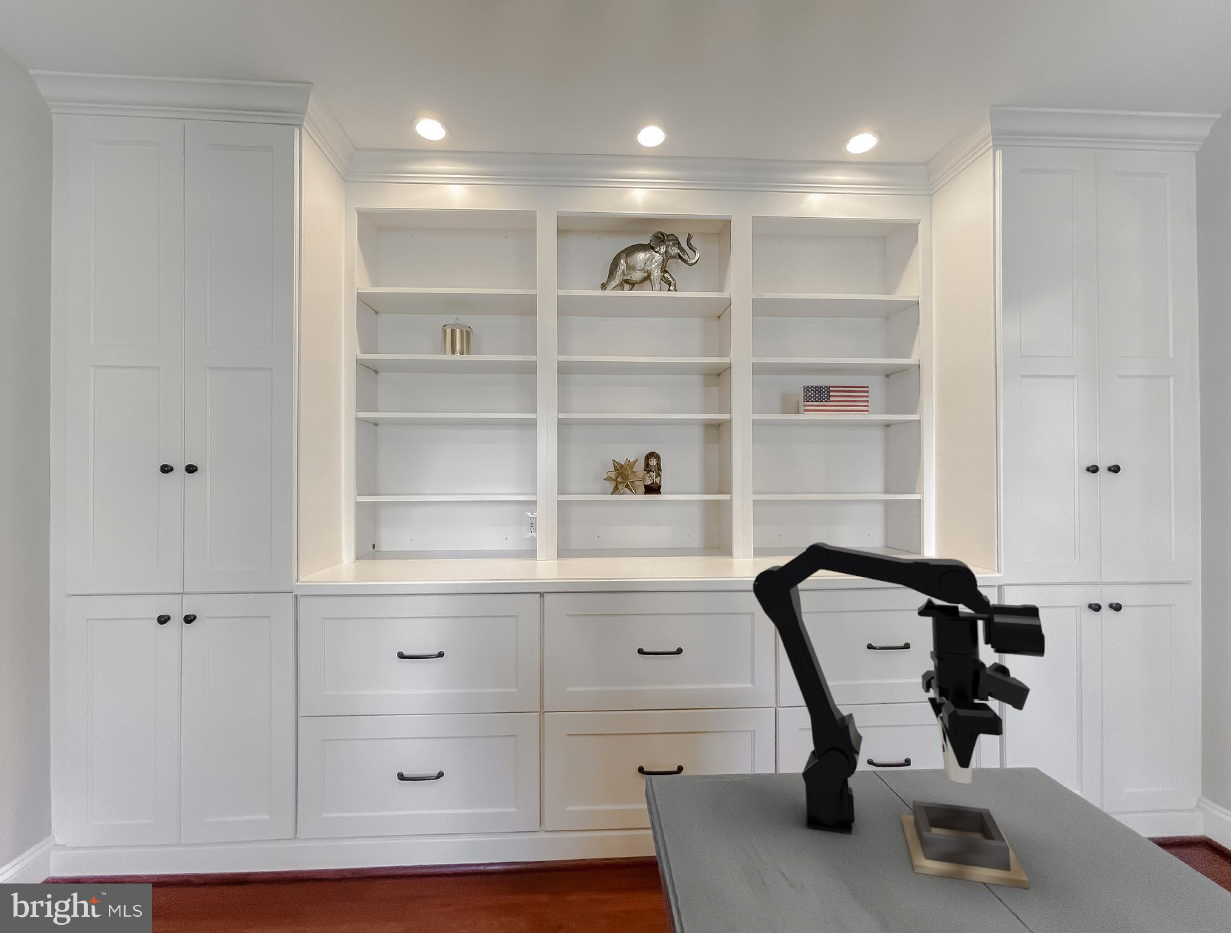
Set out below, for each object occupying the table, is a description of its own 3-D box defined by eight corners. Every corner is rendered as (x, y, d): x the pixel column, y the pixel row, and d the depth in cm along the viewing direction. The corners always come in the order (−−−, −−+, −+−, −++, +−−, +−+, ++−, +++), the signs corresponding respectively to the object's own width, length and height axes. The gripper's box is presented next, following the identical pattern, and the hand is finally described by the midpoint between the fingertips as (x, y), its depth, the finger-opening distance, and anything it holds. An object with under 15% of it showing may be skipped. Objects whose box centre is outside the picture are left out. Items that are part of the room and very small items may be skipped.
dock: (914, 872, 80) (912, 840, 80) (901, 821, 92) (899, 794, 92) (1029, 889, 76) (1027, 856, 76) (999, 833, 88) (997, 805, 88)
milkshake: (989, 788, 83) (985, 713, 83) (946, 785, 83) (943, 711, 84) (975, 773, 87) (972, 702, 88) (935, 770, 88) (932, 700, 88)
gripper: (1047, 672, 75) (1053, 801, 74) (999, 637, 93) (1004, 741, 92) (946, 666, 78) (951, 789, 77) (919, 633, 96) (923, 733, 95)
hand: (960, 761), depth 85 cm, fingers closed on milkshake, 4 cm apart
